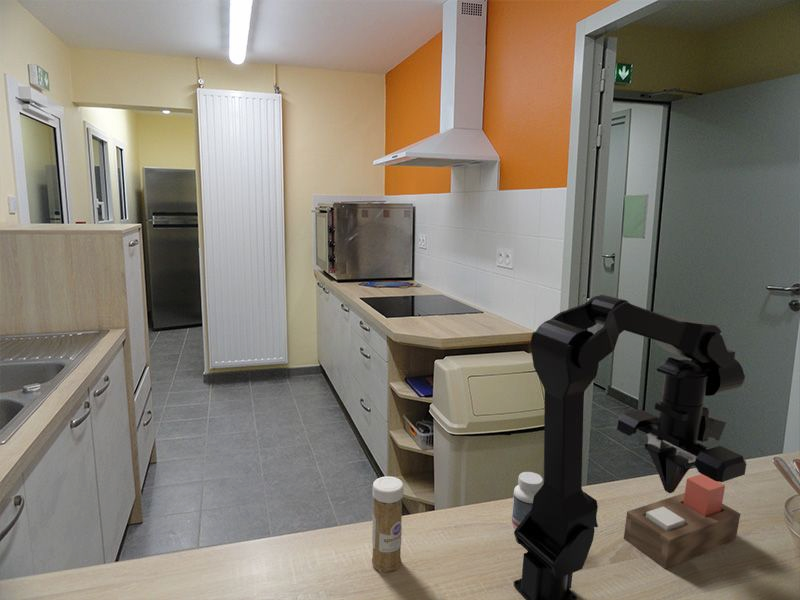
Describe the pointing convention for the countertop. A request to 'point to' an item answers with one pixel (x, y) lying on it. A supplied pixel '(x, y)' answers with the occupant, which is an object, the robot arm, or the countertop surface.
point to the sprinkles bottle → (387, 523)
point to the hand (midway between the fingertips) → (669, 491)
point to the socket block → (680, 532)
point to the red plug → (704, 495)
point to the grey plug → (665, 518)
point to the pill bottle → (524, 495)
